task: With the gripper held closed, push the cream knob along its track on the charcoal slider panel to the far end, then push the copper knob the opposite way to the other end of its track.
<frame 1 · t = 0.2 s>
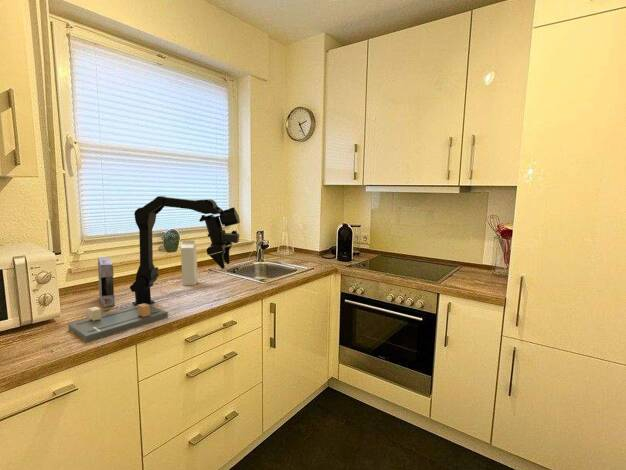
hand: (226, 266, 136), 15 cm above the counter, tool pointing down, fingers open, 9 cm apart
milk: (190, 284, 167), on the counter
panel: (120, 323, 116), on the counter
copper slider: (143, 309, 117), point 4 cm above the counter, slide at 15.0 cm
striped narrow carton: (107, 301, 140), on the counter
cream slider: (94, 313, 114), point 4 cm above the counter, slide at 3.0 cm
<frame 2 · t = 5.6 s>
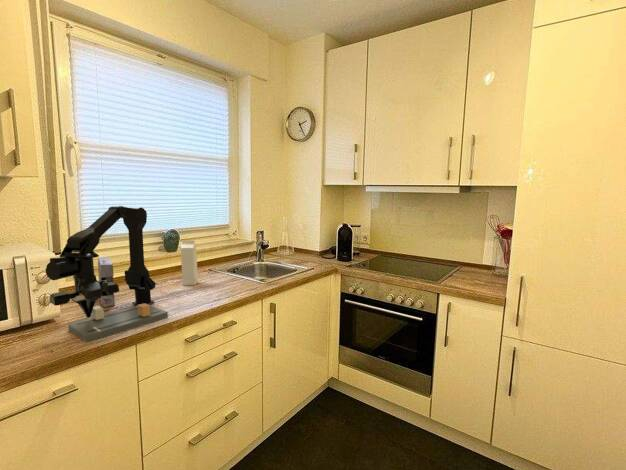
hand: (88, 317, 113), 3 cm above the counter, tool pointing down, fingers closed
cream slider: (97, 312, 115), point 4 cm above the counter, slide at 3.9 cm, touching gripper
everything else where it was.
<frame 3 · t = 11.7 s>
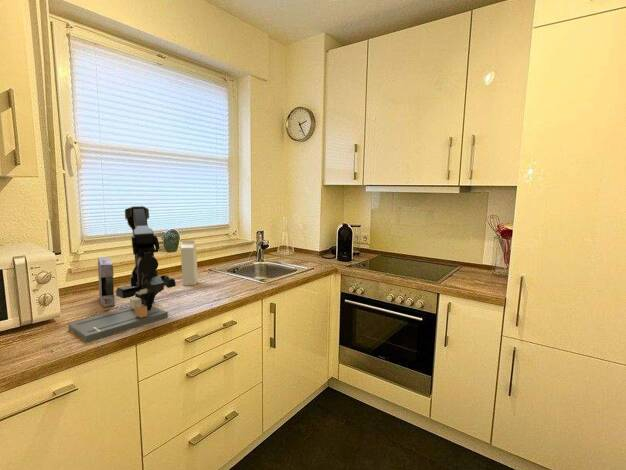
hand: (148, 310, 119), 4 cm above the counter, tool pointing down, fingers closed
copper slider: (140, 310, 117), point 4 cm above the counter, slide at 14.0 cm, touching gripper
cream slider: (135, 303, 125), point 4 cm above the counter, slide at 16.7 cm
everything else where it was.
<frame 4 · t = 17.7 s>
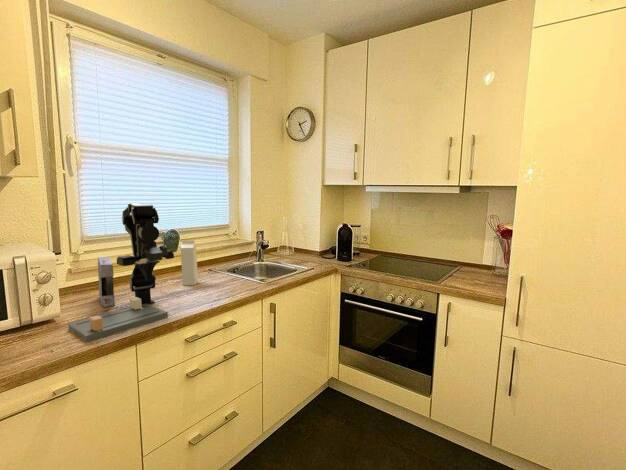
hand: (148, 280, 124), 13 cm above the counter, tool pointing down, fingers closed
copper slider: (96, 323, 106), point 4 cm above the counter, slide at 0.0 cm
everything else where it was.
at the end: cream slider slide at 16.7 cm; copper slider slide at 0.0 cm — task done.
